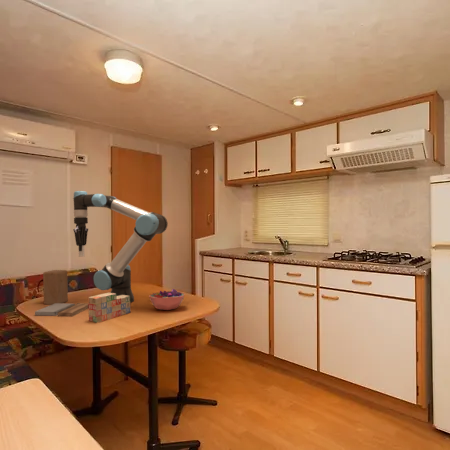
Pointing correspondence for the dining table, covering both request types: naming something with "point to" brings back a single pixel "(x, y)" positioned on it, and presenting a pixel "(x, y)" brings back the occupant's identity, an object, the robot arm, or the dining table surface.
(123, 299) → the stack of blocks
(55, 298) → the wooden block
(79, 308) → the board
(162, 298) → the cell model
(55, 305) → the plank
